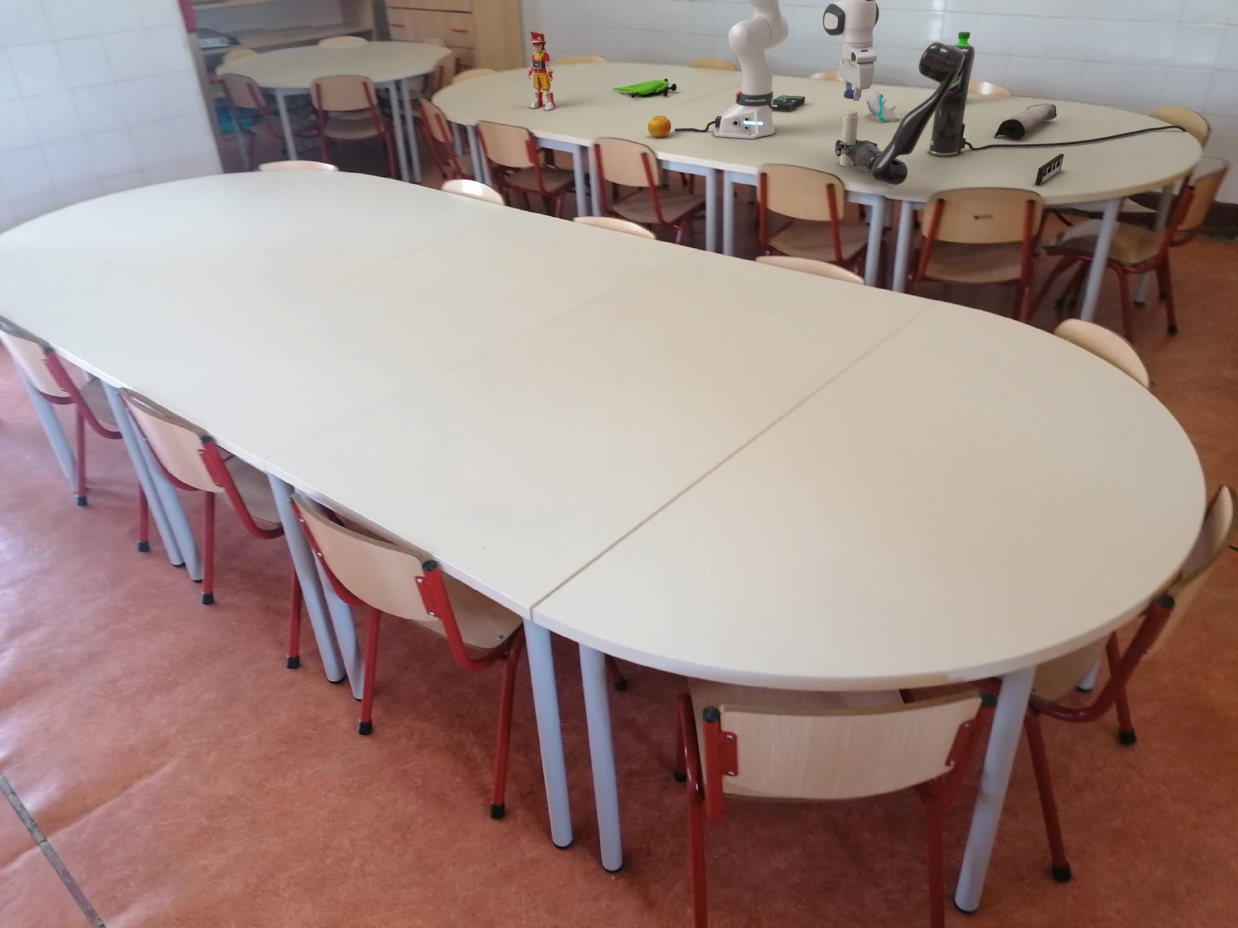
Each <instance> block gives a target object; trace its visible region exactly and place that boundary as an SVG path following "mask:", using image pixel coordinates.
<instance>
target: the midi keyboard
mask: <svg viewBox="0 0 1238 928" xmlns="http://www.w3.org/2000/svg"><path fill="white" fill-rule="evenodd" d="M1064 157H1065V153H1059V154H1058V155H1056V156H1055V157H1052V159H1051V160H1049V161H1047V162H1045V164H1042V165H1041V166H1039V167H1038V169H1037V175H1036V179H1035V186H1040V185H1042V183H1044V182H1045V181H1047V180H1048V179H1049V178H1051V177H1052V176H1054V175H1055V174H1056V173H1058V172H1060V171H1061V170H1062V165H1063V161H1064Z"/></svg>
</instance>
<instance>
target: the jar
mask: <svg viewBox="0 0 1238 928" xmlns="http://www.w3.org/2000/svg"><path fill="white" fill-rule="evenodd" d="M858 113H859V111H858V110H853V109H851V110H846V111H845V113H844V115H843V121H842V133H841V141H842V142H843V143H847V142H848V143H852V144H856V139H857V140H858V138H857V137H858V127H859V117H860V116H859V115H858ZM843 149H844V147H843ZM839 165H840V166H842V167H851V166H852V167H853V166H854V165H855V163H853V162H852V160H851V158H850V156H847V155H846V154H842V155H841V156H839Z"/></svg>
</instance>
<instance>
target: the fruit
mask: <svg viewBox="0 0 1238 928" xmlns="http://www.w3.org/2000/svg"><path fill="white" fill-rule="evenodd" d="M671 129H672V122H671V121H670V119H669V118H668V117H666V116H665V115H657V116H654V117H652V118H650V119H649V121H648V123H647V130H648V131H647V132H648V133H649V134H650V135H651V136H653V137H655V138H662V137H667V136H668V135H669V133H670V132H671Z"/></svg>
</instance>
